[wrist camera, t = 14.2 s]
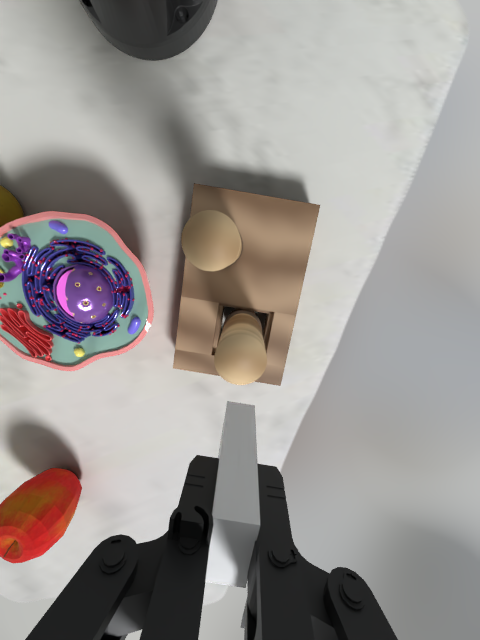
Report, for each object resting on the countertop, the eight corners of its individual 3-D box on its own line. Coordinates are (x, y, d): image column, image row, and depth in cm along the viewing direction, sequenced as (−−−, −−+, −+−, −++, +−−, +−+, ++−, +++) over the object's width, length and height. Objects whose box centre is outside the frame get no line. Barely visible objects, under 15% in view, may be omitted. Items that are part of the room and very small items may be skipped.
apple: (100, 463, 43) (46, 541, 31) (89, 506, 45) (34, 593, 33) (43, 446, 42) (-34, 518, 31) (34, 489, 44) (-41, 573, 33)
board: (200, 191, 33) (167, 147, 19) (311, 211, 33) (356, 180, 20) (180, 356, 38) (143, 412, 25) (277, 372, 38) (293, 436, 25)
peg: (228, 301, 36) (216, 330, 23) (263, 307, 36) (272, 338, 23) (223, 335, 37) (209, 381, 24) (257, 340, 37) (263, 389, 24)
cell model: (15, 220, 35) (-94, 204, 24) (169, 221, 34) (132, 206, 23) (37, 345, 39) (-47, 381, 28) (175, 348, 38) (146, 385, 27)
